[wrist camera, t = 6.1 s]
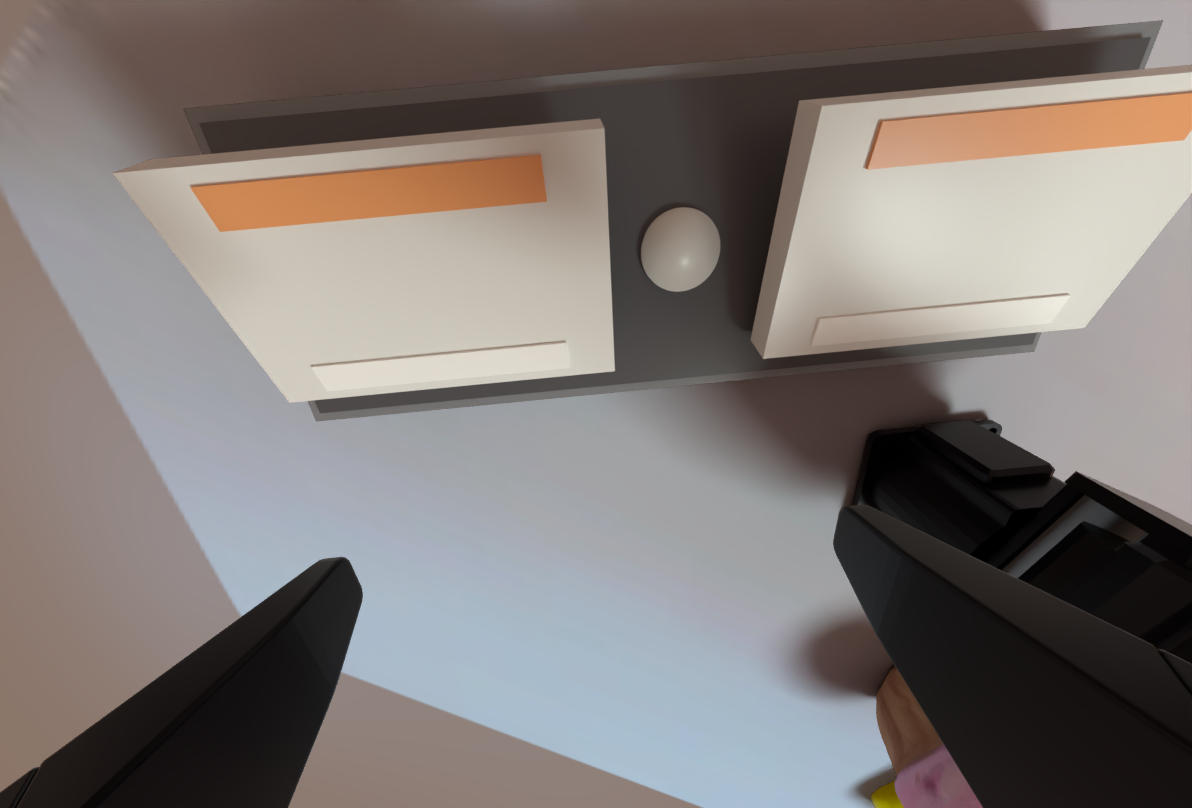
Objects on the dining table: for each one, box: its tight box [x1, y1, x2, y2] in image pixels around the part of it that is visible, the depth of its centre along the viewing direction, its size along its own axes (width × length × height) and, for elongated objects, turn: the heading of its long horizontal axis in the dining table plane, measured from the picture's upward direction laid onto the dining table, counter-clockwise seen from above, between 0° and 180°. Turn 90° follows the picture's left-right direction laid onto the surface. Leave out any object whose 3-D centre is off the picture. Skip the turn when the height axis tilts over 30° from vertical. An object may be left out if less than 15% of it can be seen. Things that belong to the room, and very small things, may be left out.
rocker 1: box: [113, 119, 615, 403], centre depth 12 cm, size 7×11×1 cm, turn 95°
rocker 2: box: [751, 65, 1192, 359], centre depth 12 cm, size 7×11×1 cm, turn 95°
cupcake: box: [876, 667, 983, 808], centre depth 26 cm, size 9×9×10 cm
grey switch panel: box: [184, 20, 1163, 421], centre depth 15 cm, size 10×28×3 cm, turn 95°
